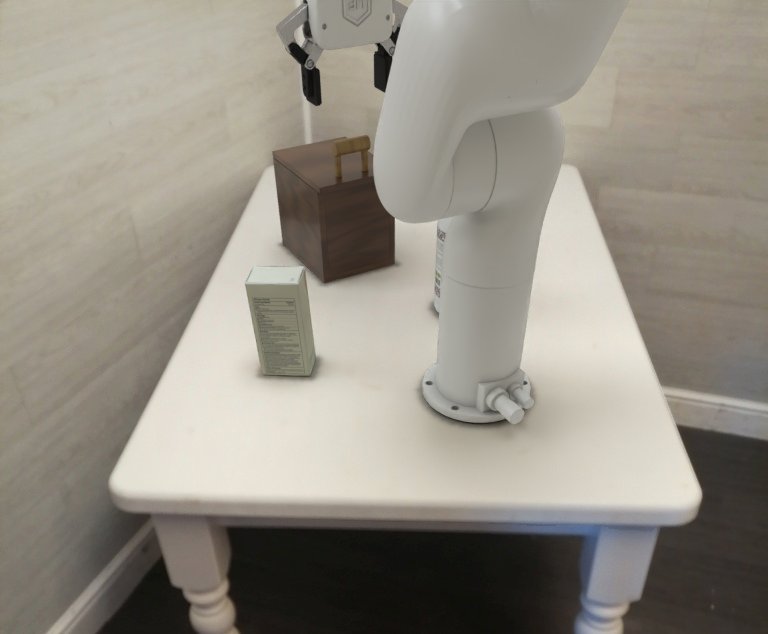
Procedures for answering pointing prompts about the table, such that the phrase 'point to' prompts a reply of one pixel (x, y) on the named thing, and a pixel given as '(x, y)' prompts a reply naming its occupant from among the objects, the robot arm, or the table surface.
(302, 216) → the chest
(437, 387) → the robot arm
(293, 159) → the lid
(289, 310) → the cosmetic box
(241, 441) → the table surface
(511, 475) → the table surface
